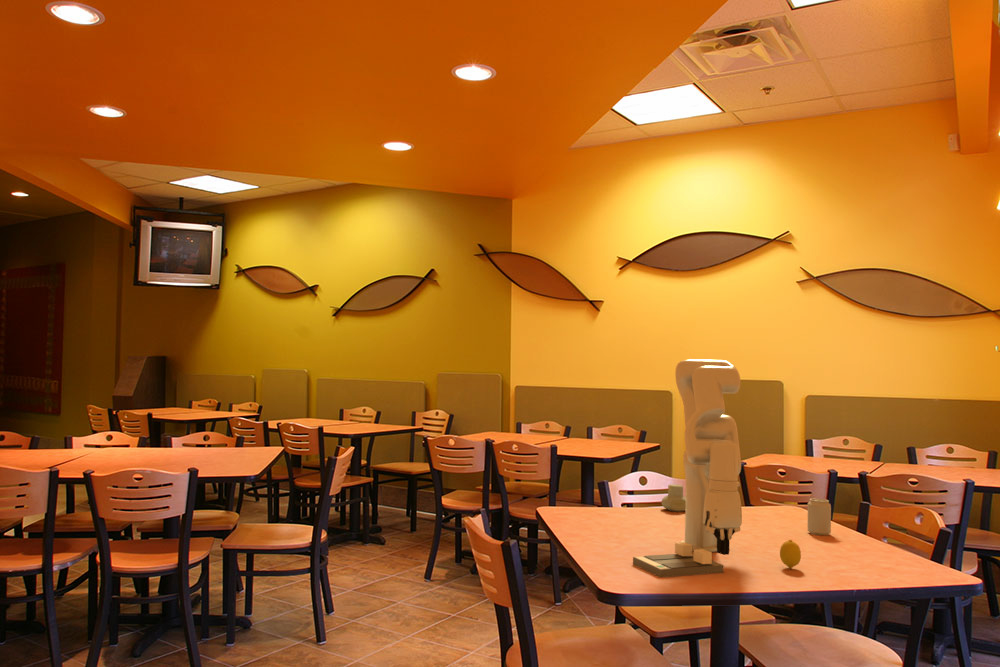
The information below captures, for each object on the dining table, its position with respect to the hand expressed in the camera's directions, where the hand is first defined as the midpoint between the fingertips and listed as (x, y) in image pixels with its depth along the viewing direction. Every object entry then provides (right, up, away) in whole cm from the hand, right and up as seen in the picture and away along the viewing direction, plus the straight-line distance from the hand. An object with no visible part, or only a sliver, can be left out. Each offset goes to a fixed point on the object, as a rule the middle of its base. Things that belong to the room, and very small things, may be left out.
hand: (723, 553), depth 205 cm
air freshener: (+9, -11, +94) cm, 95 cm away
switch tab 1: (-9, -2, +7) cm, 12 cm away
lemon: (+20, -6, +4) cm, 21 cm away
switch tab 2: (-6, -2, -2) cm, 7 cm away
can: (+50, -10, +55) cm, 75 cm away
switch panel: (-12, -4, +1) cm, 13 cm away
